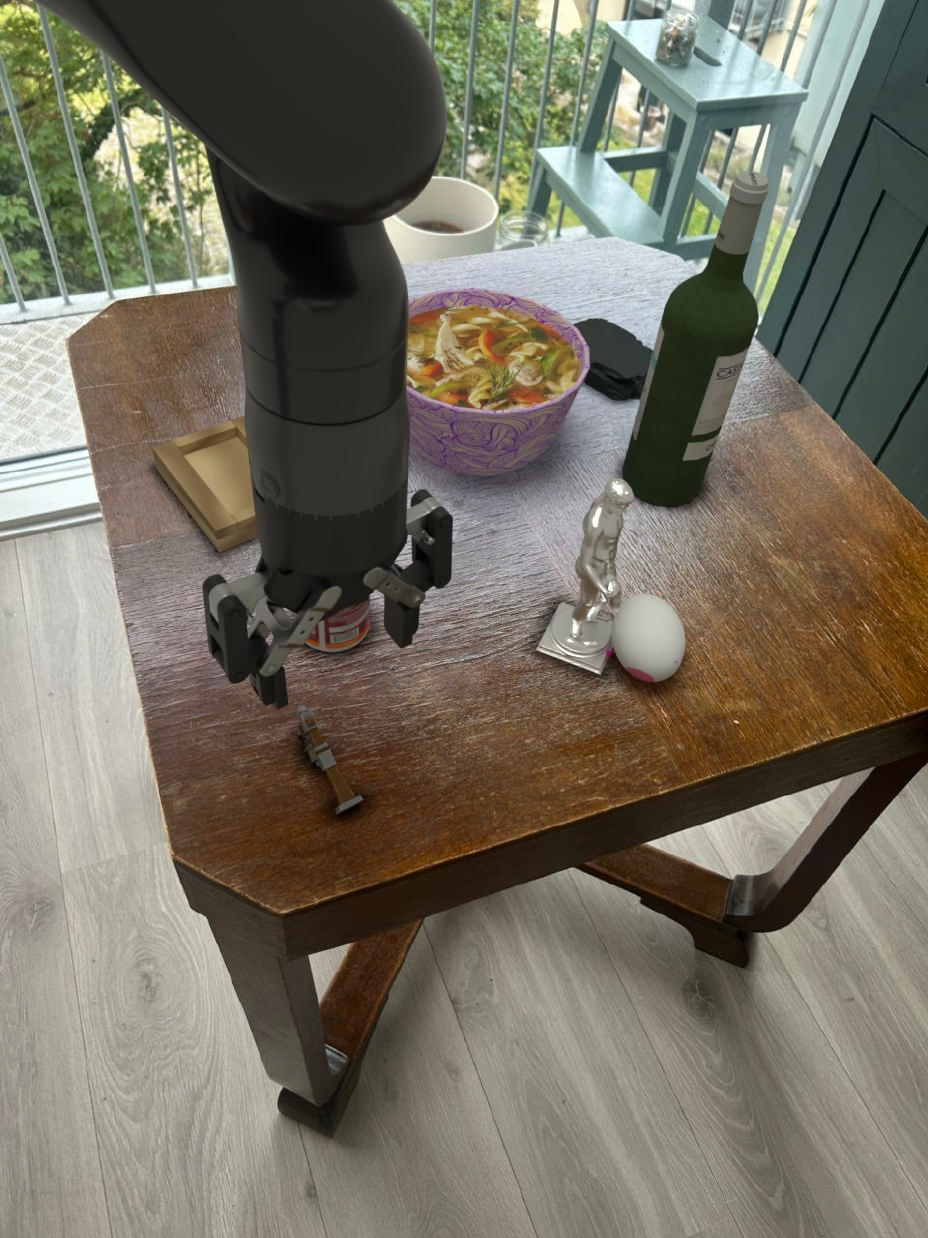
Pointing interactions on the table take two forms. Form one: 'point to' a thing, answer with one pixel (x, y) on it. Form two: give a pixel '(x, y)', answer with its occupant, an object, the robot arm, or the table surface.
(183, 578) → the table surface
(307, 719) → the wooden post with brackets
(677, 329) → the wine bottle
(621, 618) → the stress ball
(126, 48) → the robot arm
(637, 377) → the stone
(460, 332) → the bowl of food
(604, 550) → the figurine
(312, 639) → the pill bottle
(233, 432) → the holder
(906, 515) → the table surface
